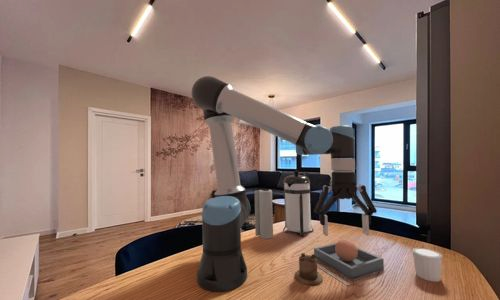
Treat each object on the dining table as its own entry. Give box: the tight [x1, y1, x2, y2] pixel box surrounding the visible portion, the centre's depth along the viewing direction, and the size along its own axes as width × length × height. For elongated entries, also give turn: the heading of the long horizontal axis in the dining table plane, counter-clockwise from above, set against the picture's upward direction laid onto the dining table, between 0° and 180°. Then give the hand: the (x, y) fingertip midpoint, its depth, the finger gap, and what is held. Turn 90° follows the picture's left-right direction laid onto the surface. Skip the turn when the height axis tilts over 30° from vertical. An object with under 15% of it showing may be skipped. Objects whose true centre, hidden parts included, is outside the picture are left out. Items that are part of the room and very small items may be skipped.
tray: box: [313, 242, 385, 282], centre depth 72 cm, size 14×16×4 cm
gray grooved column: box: [254, 189, 274, 240], centre depth 99 cm, size 7×6×21 cm
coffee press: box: [282, 169, 314, 238], centre depth 106 cm, size 17×16×30 cm
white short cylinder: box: [412, 247, 443, 282], centre depth 63 cm, size 7×7×7 cm
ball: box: [335, 238, 358, 262], centre depth 72 cm, size 7×7×7 cm
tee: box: [294, 252, 324, 286], centre depth 64 cm, size 8×8×6 cm
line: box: [317, 263, 351, 286], centre depth 69 cm, size 1×20×1 cm, turn 25°
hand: (345, 234), depth 72 cm, fingers open, 13 cm apart
